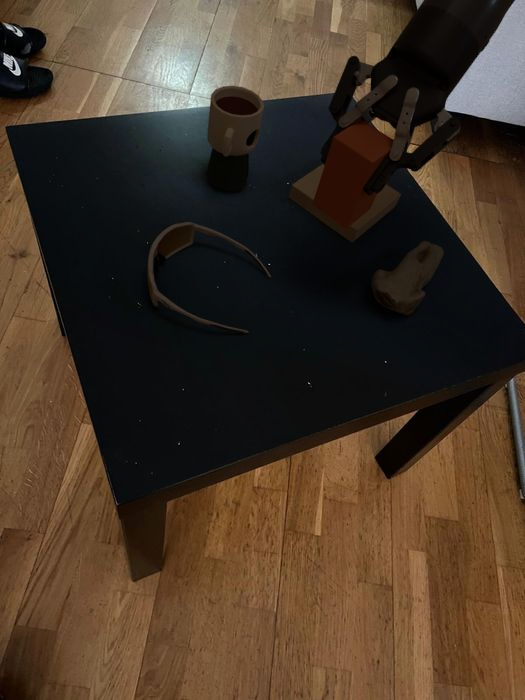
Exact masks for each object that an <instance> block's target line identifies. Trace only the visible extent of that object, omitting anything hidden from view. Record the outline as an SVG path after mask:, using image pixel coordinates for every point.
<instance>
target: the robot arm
mask: <svg viewBox="0 0 525 700" xmlns="http://www.w3.org/2000/svg"><path fill="white" fill-rule="evenodd" d="M515 1H516V0H423V1H422V2H421V4H420V5H419V6H418V8H417V9H416V11H415V12H414V13H413V16H411V18H410V20H409V21H408V23H407V24H406V26H405V27H404V28H403V30H402V31H401V33H400V34H399V36H398V37H397V38H396V40H395V41H394V43H393V45H392V46H391V48H390V49H389V51H388V52H387V55H386V56H385V57H384V58H383V59H381V60H380V61H378V62H376V63H375V64H374V65H372V64H369V63H366V62H362V61H360V59H359V56H357V55H351V56H350V57H348V59H347V61H346V64H345V66H344V69H343V71H342V74H341V76H340V79H339V81H338V84H337V86H336V88H335V91H334V93H333V96H332V98H331V99H330V103H329V106H328V111H329V112H330V115H331V116H332V118H333V120H334V121H335V124H336V125H335V128H334V130H333V131H332V132H331V134H330V135H329V137H328V138H327V140H325V143H324V144H323V145H322V147H321V150H320V155H321V158H320V162H321V163H322V164H324V165H325V163H326V160H327V156H328V153H329V150H330V147H331V144H332V141H333V138H334V136H336V135H337V134H339V133H340V132H342V131H343V130H345V129H346V128H348V127H349V126H351V125H352V124H354V123H355V122H357V121H359V120H360V119H362V120H363V121H365V122H366V123H368V124H371V122H373V121H375V120H376V118H377V119H378V120H380V121H382V122H386V123H388V124H389V125H390V126H391V128H393V129H394V130H395V131H394V138H393V140H394V141H393V144H392V147H391V151H390V154H389V156H388V157H387V158H384V159H383V160H382V162H381V163H380V165H379V166H378V167H377V169H376V170H375V172H374V173H373V174H372V176H371V177H370V179H369V180H368V181H367V183H366V184H365V186H364V187H363V190H364V192H365V193H366V194H368V195H369V196H371V195H372V194H373V193H374V192H375V193H377V194H378V193H379V192H380V191H382V190H383V188H384V187H385V185H386V184H387V185H388V183H389V182H390V180H391V179H392V178H393V176H394V174H395V173H396V172H397V171H398V170H399V169H407V170H410V171H411V172H414V173H415V172H418V171H420V170H421V169H422V168H424V166H425V165H427V164H428V163H429V162H430V161H431V160H433V159H434V158H435V157H436V156H437V155H438V154H439V153H440V152H441V151H443V150H444V149H445V148H446V147H448V145H449V144H450V143H451V142H453V141H454V140H455V139H457V137H458V136H460V133H461V120H460V118H459V117H457V116H452V115H451V114H450V112H449V111H448V110H447V109H446V103H447V102H448V101H447V100H448V98H449V97H450V95H451V94H452V92H454V90H455V89H456V88H457V86H458V84H459V83H460V81H461V80H462V79H463V77H464V76H465V75H466V74H467V72H468V70H469V69H470V68H471V66H472V65H473V63H474V62H475V61H476V60H477V58H478V56H479V55H480V54H481V53H482V52H483V51H484V50H485V49H486V48H487V46H488V44H489V43H490V40H491V39H492V38H493V36H494V35H495V33H496V32H497V31H498V29H499V27H500V25H501V24H502V21H503V20H504V18H505V16H506V14H507V13H508V11H509V10H510V8H511V7H512V5H513V4H514V3H515ZM369 79H370V91H368V93H367V94H365V95H364V96H363V97H361V98H360V99H359V100H357V102H356V103H355V104H354V106H353V107H352V108H351V109H349V108H350V105H351V103H352V100H353V97H354V95H355V93H356V91H357V88H358V87H361V86H363V85H364V83H365V82H366V81H367V80H369ZM436 119H437V121H436V122H435V123H434V125H433V133H432V134H431V135H429V136H428V138H426V139H425V140H424V141H423V142H422V143H421V144H420V145H418V146H417V147H416V148H415V149H414V150H413V151H412V152H408V150H409V148H410V145H411V143H412V139H413V136H414V133H415V130H416V127H419V126H422V125H424V124H426V123H429V122H431V121H434V120H436Z"/></svg>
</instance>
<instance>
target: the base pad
mask: <svg viewBox="0 0 525 700" xmlns="http://www.w3.org/2000/svg"><path fill="white" fill-rule="evenodd" d="M324 166H325V165H324V164H323V163H322V164H320V165H319V166H318V167H316V168H315V169H313V170H312V171H310V172H309V173H307V174H305V175H304V176H302V177H301V178H299V179H298V180H297V181H295V182H294V183H292V184H291V187H290V191H289V194H288V199H290V200H291V201H292V202H294V203H295V204H297V205H298V206H299V207H301V208H302V209H304V210H305V211H306V212H308V213H309V214H310V215H312V216H313V217H315V218H316V219H318V220H319V221H321V222H322V223H323V224H325V225H326V226H327V227H329V228H330V229H331V230H333V231H335V232H336V233H337V234H339V235H340V236H342V237H343V238H344V239H346V241H349V243H351V244H352V243H354V242H355V241H356V240H358V239H359V238H360V237H361V236H362V235H364V233H366V232H367V231H368V230H370V229H371V228H372V227H373V226H374V225H375V224H377V223H378V222H379V221H380V220H381V219H383V218H384V217H385V216H386V215H387V214H388V213H389V212H391V211H392V210H393V209H395V207H396V206H397V205H398V202H399V200H400V199H401V197H402V193H400V192H399V191H398V190H396V189H394V187H391V186H390V185H388V183H387V184H386V185H385V187H384V188H383V190H382V191H380V192H379V193H378V194H377V195H376V197H375V200H374V202H373V204H372V206H371V209H370V210H369V211H367V212H366V213H365V214H364V215H363V216H361V217H360V218H359V219H358V220H356V221H355V222H354V223H353V224H352V225H350V226H349V227H348V228H347V229H346V228H344V227H343V226H342V225H340V224H339V223H337V222H336V221H335V220H333V219H332V218H330V217H329V216H328V215H326V214H325V213H323V212H322V211H320V210H319V209H318V208H316V207H315V206H313V205H312V204H313V201H314V197H315V194H316V191H317V188H318V185H319V182H320V179H321V175H322V172H323V169H324Z"/></svg>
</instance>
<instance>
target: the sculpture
mask: <svg viewBox="0 0 525 700" xmlns="http://www.w3.org/2000/svg"><path fill="white" fill-rule="evenodd" d="M444 253H445V251H444V249H443V248H442V246H440V245H439V244H435V243H431V242H430V241H427V240H422V241H420V242H419V244H418V245H417V246H416V247H414V248H413V249H411V250H410V251H409V252H407V254H405V256H404V257H403V258H402V260H401V261H400V262H399V263H398V264H397V266H396V268H395V269H393V270H391V271H388V270H384V269H377V270H376V271H375V272H374V274H373V276H372V278H371V281H370V282H371V283H370V286H371V290H372V293H373V295H374V299H375V301H376V302H377V303H379V304H380V305H381V306H382V307H384V308H386V309H388V310H390V311H392V312H396V313H398V314H402V315H404V316H410V315H411V314H412V313H413V312H415V310H416V309H417V307H418V306H420V304H421V303H422V301H423V299H425V296H426V292H425V291H424V290H422V289H423V288H425V286H426V285H428V284H429V283H430V281H431V280H432V279H433V277H434V275H435V273H436V271H437V269H438V267H439V265H440V263H441V260H442V258H443V257H444Z"/></svg>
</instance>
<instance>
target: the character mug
mask: <svg viewBox="0 0 525 700" xmlns="http://www.w3.org/2000/svg"><path fill="white" fill-rule="evenodd" d="M264 109H265V104H264V100H263V99H262V97H260V95H259V94H257V93H256V92H254V91H253V90H251V89H248V88H246V87H243V86H237V85H224V86H220V87H218V88H216V89H214V90H213V92H211V94H210V102H209V113H208V124H207V135H206V136H207V138H206V139H207V142H208V144H209V146H210V147H211V151H210V156H209V160H208V163H207V167H206V173H205V176H206V179H207V181H208V182H209V183H210V184H211V185H213V186H214V187H216V188H219V189H221V190H224V191H229V192H236V191H241V190H242V189H244V188H245V187H246V186H247V183H248V182H247V181H248V179H249V169H250V157H249V156H250V153H252V152H254V151H255V150H256V148H257V146H258V143H259V138H260V133H261V126H262V121H263V115H264Z"/></svg>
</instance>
